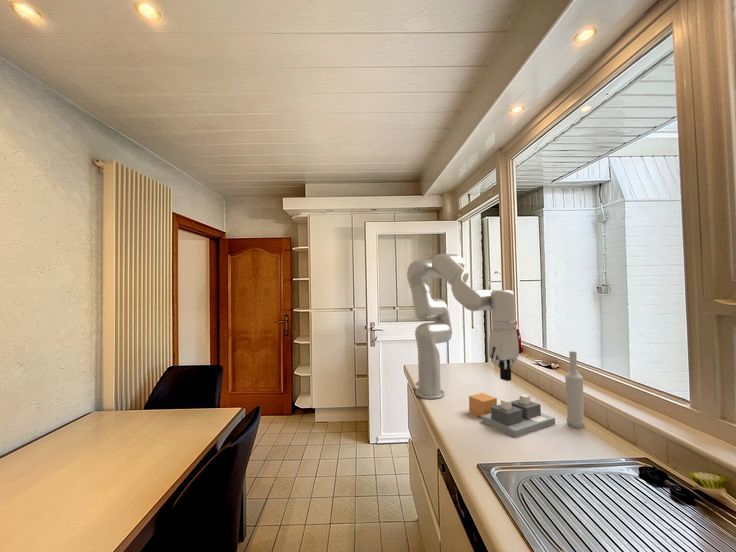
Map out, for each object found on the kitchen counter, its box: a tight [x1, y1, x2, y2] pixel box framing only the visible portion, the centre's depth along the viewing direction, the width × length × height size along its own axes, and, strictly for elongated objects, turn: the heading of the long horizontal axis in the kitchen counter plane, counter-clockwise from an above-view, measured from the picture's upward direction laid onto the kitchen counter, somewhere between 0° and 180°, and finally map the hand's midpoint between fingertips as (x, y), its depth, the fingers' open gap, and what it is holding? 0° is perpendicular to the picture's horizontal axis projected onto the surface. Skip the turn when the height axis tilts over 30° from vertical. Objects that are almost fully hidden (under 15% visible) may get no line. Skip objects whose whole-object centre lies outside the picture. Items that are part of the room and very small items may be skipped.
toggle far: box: [519, 394, 531, 405], centre depth 116 cm, size 2×2×4 cm
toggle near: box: [500, 398, 513, 411], centre depth 112 cm, size 2×2×4 cm
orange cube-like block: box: [468, 392, 498, 419], centre depth 123 cm, size 7×7×6 cm
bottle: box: [564, 350, 586, 429], centre depth 111 cm, size 5×5×25 cm
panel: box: [481, 398, 556, 438], centre depth 114 cm, size 14×20×6 cm
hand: (505, 379), depth 112 cm, fingers closed
